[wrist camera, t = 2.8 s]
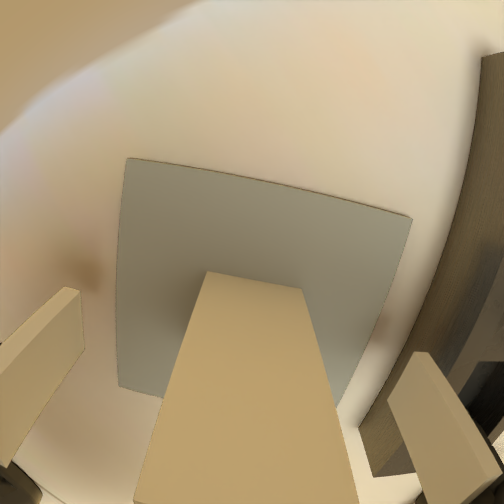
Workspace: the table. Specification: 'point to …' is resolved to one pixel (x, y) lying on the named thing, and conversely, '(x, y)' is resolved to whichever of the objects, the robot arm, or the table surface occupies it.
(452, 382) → the strip
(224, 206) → the mat
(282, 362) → the plug
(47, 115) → the table surface
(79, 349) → the robot arm
